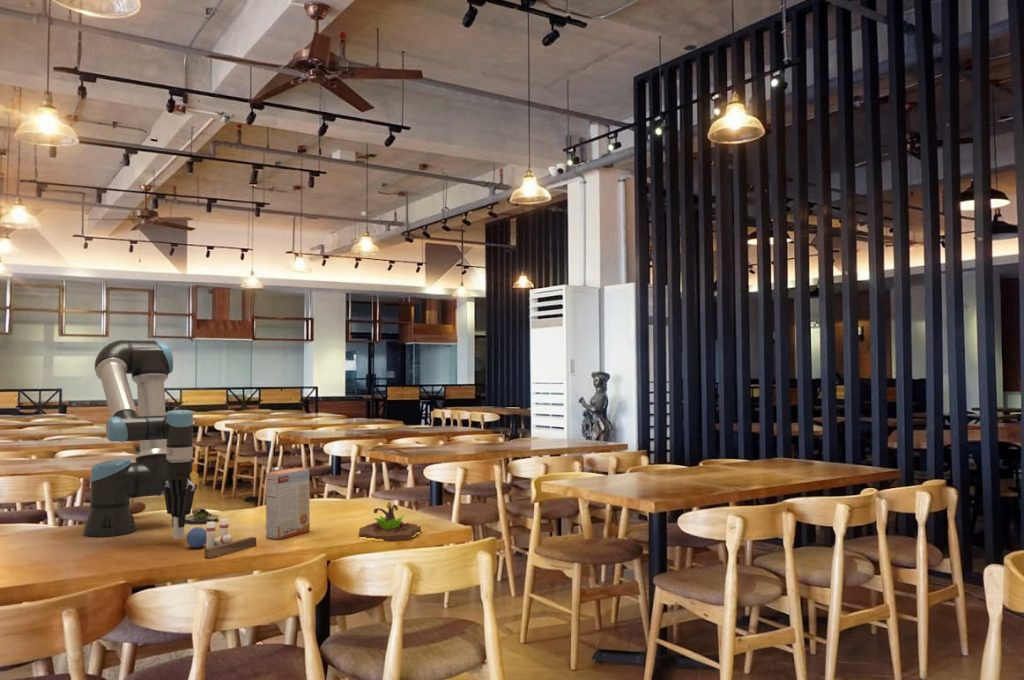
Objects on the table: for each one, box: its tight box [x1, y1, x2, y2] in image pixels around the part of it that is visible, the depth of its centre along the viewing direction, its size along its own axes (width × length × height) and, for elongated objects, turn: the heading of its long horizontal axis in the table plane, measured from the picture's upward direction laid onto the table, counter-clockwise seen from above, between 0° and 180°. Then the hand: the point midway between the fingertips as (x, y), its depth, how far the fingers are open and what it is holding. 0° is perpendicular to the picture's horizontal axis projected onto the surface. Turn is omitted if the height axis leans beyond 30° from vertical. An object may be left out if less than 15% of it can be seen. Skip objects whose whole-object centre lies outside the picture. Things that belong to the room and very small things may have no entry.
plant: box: [358, 502, 422, 543], centre depth 260 cm, size 20×20×11 cm
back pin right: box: [205, 521, 216, 549], centre depth 237 cm, size 2×2×8 cm
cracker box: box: [265, 467, 311, 540], centre depth 260 cm, size 14×6×21 cm, turn 150°
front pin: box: [215, 533, 234, 546], centre depth 239 cm, size 2×2×8 cm
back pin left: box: [219, 518, 229, 537], centre depth 241 cm, size 2×2×8 cm
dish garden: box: [185, 502, 220, 525], centre depth 282 cm, size 12×12×8 cm
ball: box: [186, 526, 207, 549], centre depth 242 cm, size 6×6×6 cm
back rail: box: [204, 536, 257, 559], centre depth 237 cm, size 2×18×2 cm, turn 154°
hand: (178, 537), depth 246 cm, fingers closed
